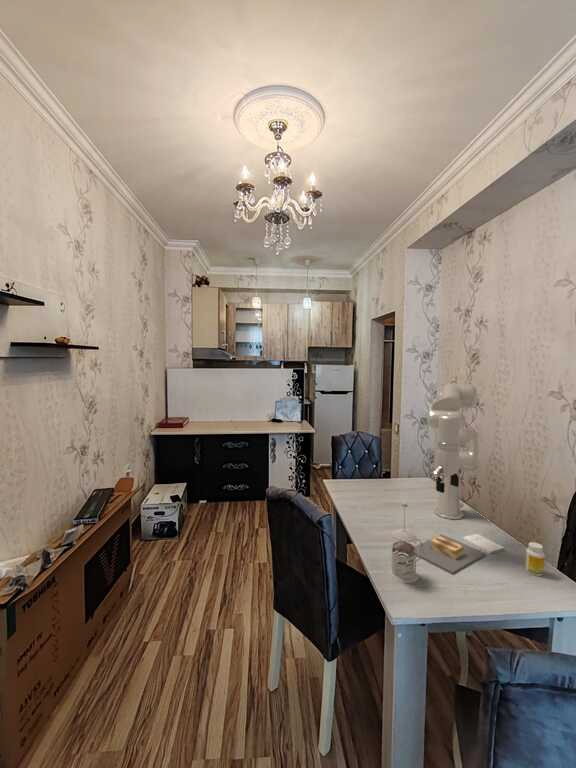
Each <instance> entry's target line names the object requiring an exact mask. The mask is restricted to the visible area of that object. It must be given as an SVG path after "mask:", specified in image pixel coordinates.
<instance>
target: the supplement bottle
mask: <svg viewBox="0 0 576 768" xmlns="http://www.w3.org/2000/svg"><path fill="white" fill-rule="evenodd" d="M543 550H544V546H543V545H542V544H540V543H538V542H533V541H531V542H529V543H528V548H526V549H525V561H524V562H525V563H524V569H525V571H526V572H527V573H529V574H530V575H532V576H536V577H537V576H538V577H542V576H543V575H545V559H546V556H545V553H544V551H543Z"/></svg>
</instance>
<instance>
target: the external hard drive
mask: <svg viewBox="0 0 576 768" xmlns="http://www.w3.org/2000/svg"><path fill="white" fill-rule="evenodd" d="M462 539H463V541H465V542H468V543H469V544H471V545H473V546H475V547H477V548H479V549H480V550H482V551H484V553H486V554H487V553H488V554H489V555H492V554H495V553H500V552H504V551H506V547H504V546H503V545H500V544H498V543H497V542H496V541H493V540H491V539H489V538H487V537H485V536H483V535H481V534H479V533H474V534H470V535H467V536H463V538H462Z"/></svg>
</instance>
